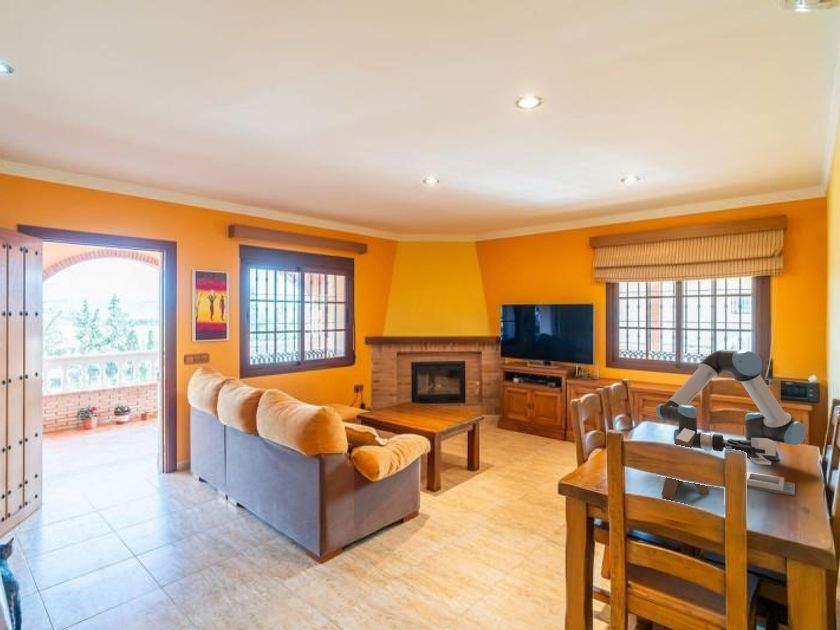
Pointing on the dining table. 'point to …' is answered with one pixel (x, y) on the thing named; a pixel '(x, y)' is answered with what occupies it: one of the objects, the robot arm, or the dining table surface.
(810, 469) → the dining table surface
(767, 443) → the security camera
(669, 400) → the robot arm
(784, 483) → the camera dock
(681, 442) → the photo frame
